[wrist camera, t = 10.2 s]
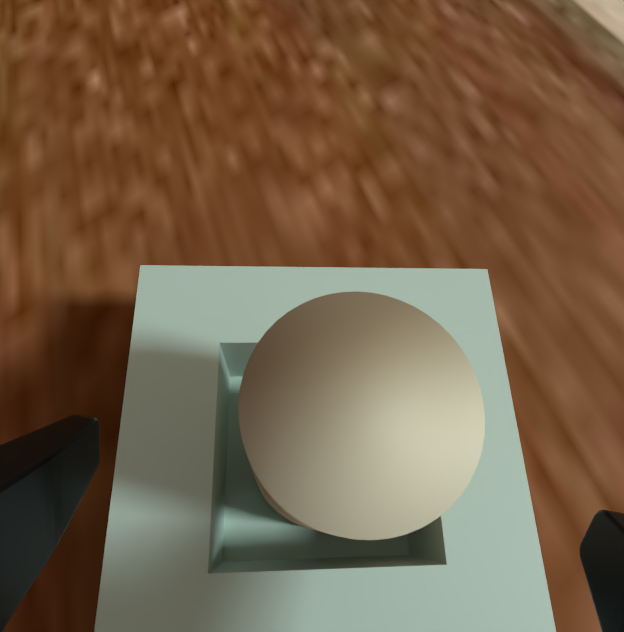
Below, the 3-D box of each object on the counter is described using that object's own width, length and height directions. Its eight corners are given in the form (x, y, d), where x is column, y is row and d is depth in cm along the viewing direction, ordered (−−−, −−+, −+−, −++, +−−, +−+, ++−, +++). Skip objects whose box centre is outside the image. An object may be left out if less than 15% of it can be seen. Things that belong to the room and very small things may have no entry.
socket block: (486, 637, 17) (565, 680, 12) (138, 654, 16) (84, 707, 12) (442, 322, 22) (487, 269, 17) (169, 321, 21) (140, 265, 16)
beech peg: (395, 495, 18) (531, 472, 8) (281, 550, 17) (297, 591, 7) (344, 384, 19) (413, 262, 10) (236, 429, 18) (203, 338, 9)
